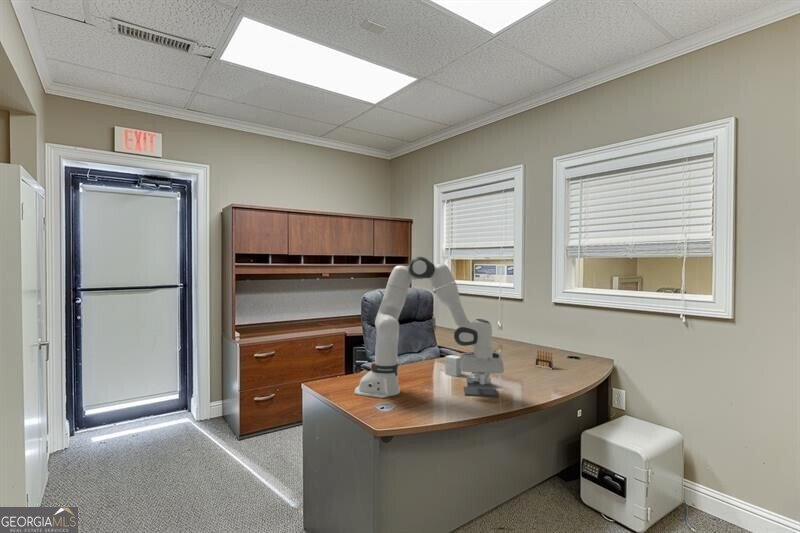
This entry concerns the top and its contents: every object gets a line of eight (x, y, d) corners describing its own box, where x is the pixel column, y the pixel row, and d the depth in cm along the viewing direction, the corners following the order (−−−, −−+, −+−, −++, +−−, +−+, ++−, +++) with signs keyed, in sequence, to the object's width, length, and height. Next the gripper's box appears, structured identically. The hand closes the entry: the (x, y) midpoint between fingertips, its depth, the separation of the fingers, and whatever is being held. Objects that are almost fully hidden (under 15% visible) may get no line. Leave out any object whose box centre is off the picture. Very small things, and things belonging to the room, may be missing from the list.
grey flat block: (472, 383, 193) (473, 377, 193) (471, 375, 207) (471, 370, 207) (492, 384, 192) (492, 378, 192) (489, 376, 206) (489, 370, 206)
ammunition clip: (552, 369, 251) (553, 350, 250) (551, 369, 249) (551, 350, 249) (536, 365, 258) (537, 347, 258) (535, 366, 257) (535, 347, 257)
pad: (464, 395, 197) (464, 393, 197) (463, 388, 209) (463, 386, 209) (498, 397, 195) (498, 395, 195) (495, 389, 207) (495, 388, 207)
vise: (467, 386, 212) (468, 346, 212) (466, 381, 222) (467, 342, 222) (490, 387, 210) (491, 347, 210) (488, 382, 220) (489, 343, 220)
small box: (461, 375, 234) (462, 357, 234) (456, 377, 230) (456, 358, 230) (450, 372, 239) (450, 354, 239) (444, 374, 235) (445, 356, 235)
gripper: (461, 353, 193) (460, 382, 193) (504, 355, 191) (504, 384, 191) (460, 350, 200) (460, 378, 200) (502, 352, 197) (502, 380, 197)
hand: (482, 381), depth 195 cm, fingers closed on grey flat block, 2 cm apart
